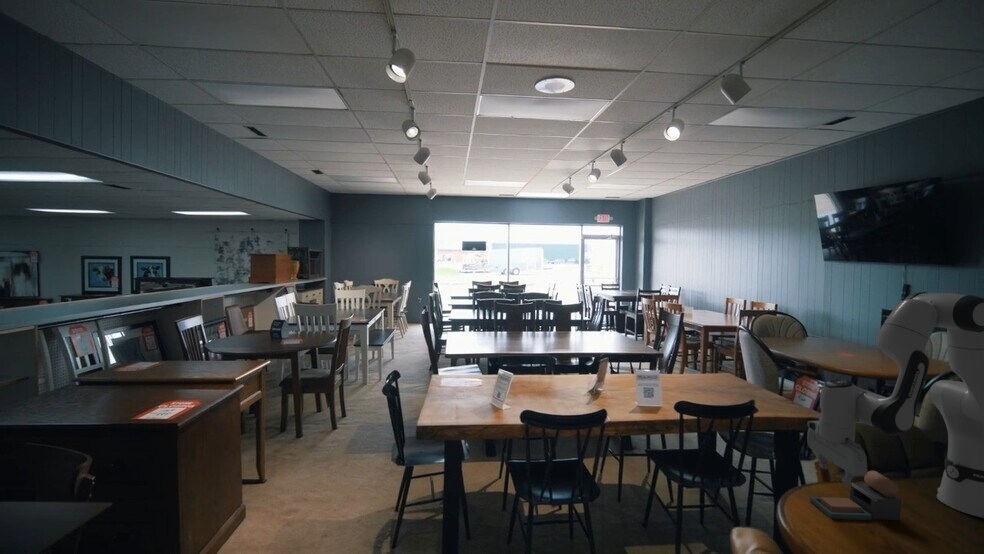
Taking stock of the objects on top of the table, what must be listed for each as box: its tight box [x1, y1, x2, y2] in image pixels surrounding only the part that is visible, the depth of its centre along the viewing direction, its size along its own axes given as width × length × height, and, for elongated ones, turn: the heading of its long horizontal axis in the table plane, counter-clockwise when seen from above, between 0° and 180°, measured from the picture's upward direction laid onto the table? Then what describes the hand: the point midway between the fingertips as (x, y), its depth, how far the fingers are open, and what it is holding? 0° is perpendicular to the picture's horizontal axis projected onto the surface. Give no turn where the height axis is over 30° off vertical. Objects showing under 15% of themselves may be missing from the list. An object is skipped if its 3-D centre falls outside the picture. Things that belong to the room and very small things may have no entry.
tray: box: [809, 496, 872, 521], centre depth 138 cm, size 12×9×2 cm
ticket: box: [819, 496, 861, 513], centre depth 138 cm, size 9×5×2 cm, turn 89°
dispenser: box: [849, 470, 902, 521], centre depth 138 cm, size 8×9×11 cm
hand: (834, 475), depth 137 cm, fingers open, 8 cm apart
